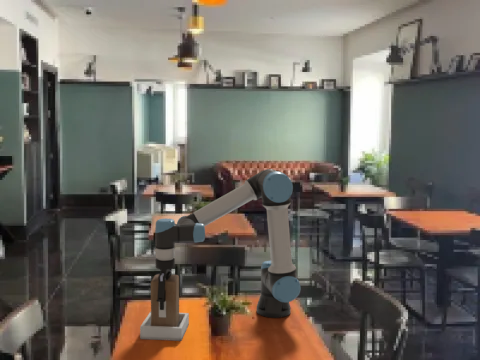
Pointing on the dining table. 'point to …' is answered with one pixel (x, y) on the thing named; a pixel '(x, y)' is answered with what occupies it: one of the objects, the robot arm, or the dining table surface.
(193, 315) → the dining table surface
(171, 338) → the tray
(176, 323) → the block
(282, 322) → the dining table surface
